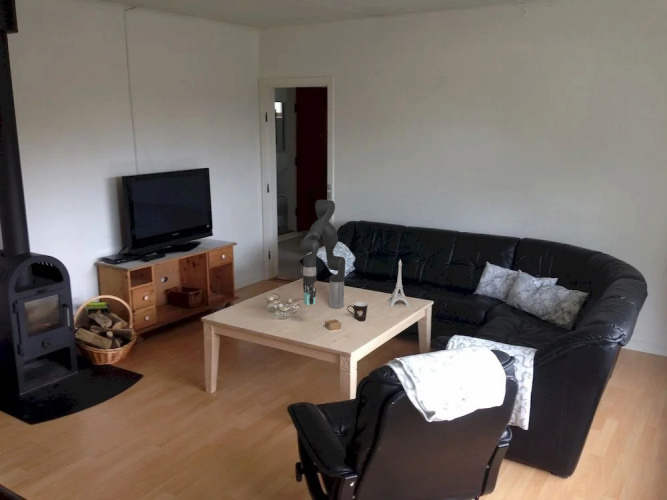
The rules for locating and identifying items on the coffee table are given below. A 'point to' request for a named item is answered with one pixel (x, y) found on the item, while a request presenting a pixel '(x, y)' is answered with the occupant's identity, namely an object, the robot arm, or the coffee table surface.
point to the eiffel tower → (395, 294)
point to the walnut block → (333, 325)
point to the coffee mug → (359, 311)
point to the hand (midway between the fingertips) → (309, 302)
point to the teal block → (306, 299)
